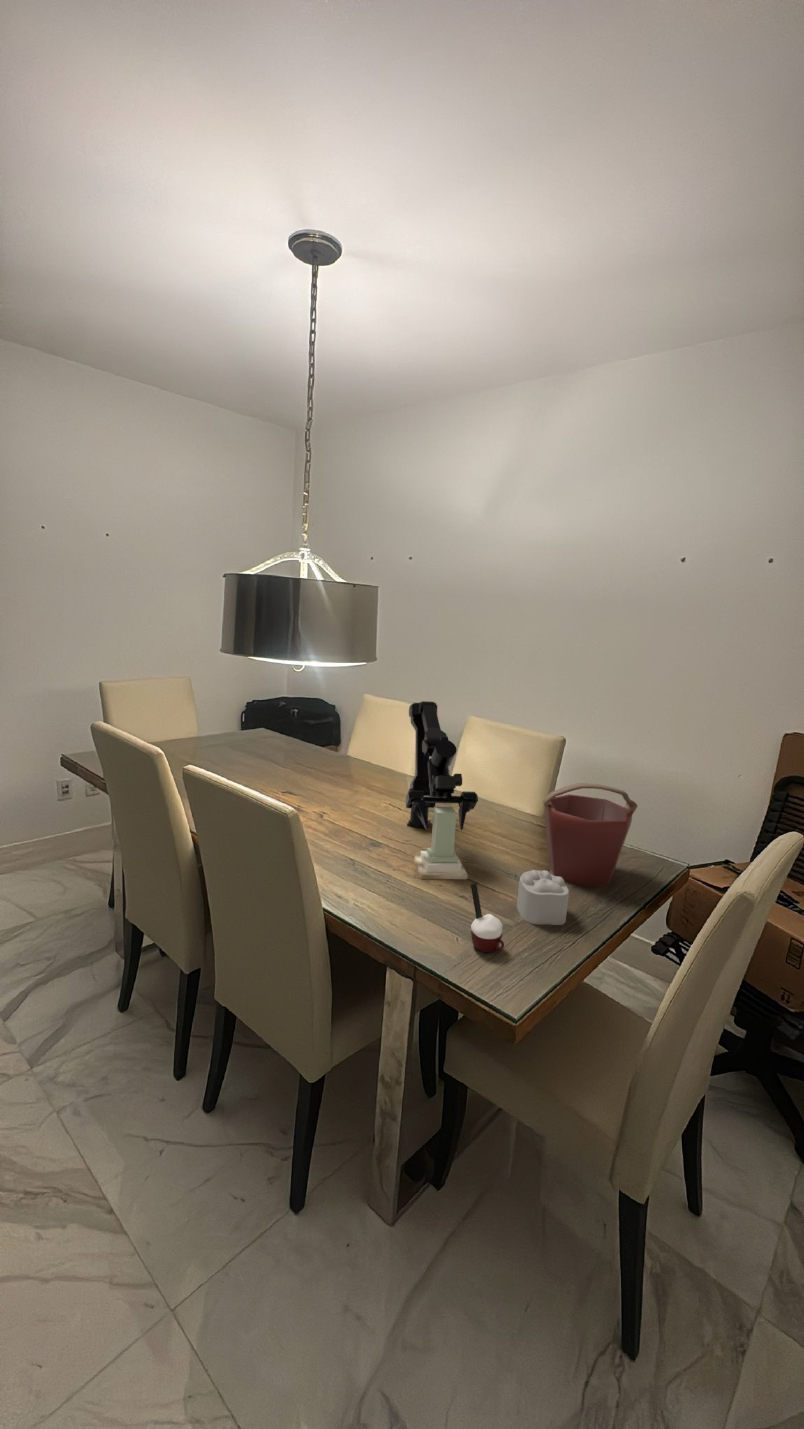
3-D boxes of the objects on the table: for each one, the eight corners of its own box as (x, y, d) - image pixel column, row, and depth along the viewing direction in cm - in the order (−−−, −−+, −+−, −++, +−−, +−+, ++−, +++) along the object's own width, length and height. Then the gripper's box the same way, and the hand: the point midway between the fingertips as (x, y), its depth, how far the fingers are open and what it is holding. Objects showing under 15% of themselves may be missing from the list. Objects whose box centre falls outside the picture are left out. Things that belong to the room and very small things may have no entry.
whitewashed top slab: (420, 857, 164) (420, 851, 163) (452, 857, 165) (452, 850, 165) (427, 872, 155) (427, 865, 154) (460, 871, 156) (461, 864, 156)
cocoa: (507, 958, 121) (516, 904, 119) (478, 961, 119) (487, 906, 117) (486, 932, 130) (495, 881, 128) (460, 934, 128) (468, 882, 126)
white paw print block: (524, 924, 135) (528, 888, 133) (511, 896, 147) (514, 863, 146) (570, 925, 135) (574, 889, 134) (552, 898, 148) (556, 864, 147)
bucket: (625, 866, 170) (637, 781, 166) (633, 900, 149) (647, 804, 145) (537, 851, 177) (546, 769, 172) (532, 882, 156) (543, 789, 151)
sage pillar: (426, 852, 163) (429, 805, 161) (452, 852, 164) (455, 805, 162) (431, 862, 156) (434, 813, 154) (457, 862, 157) (461, 814, 155)
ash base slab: (413, 862, 165) (414, 855, 165) (456, 862, 167) (457, 855, 167) (421, 882, 154) (421, 874, 153) (467, 881, 155) (467, 874, 155)
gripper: (410, 760, 158) (414, 815, 149) (479, 762, 161) (487, 816, 152) (404, 781, 167) (407, 833, 158) (469, 782, 170) (476, 834, 161)
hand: (444, 829), depth 157 cm, fingers open, 9 cm apart
